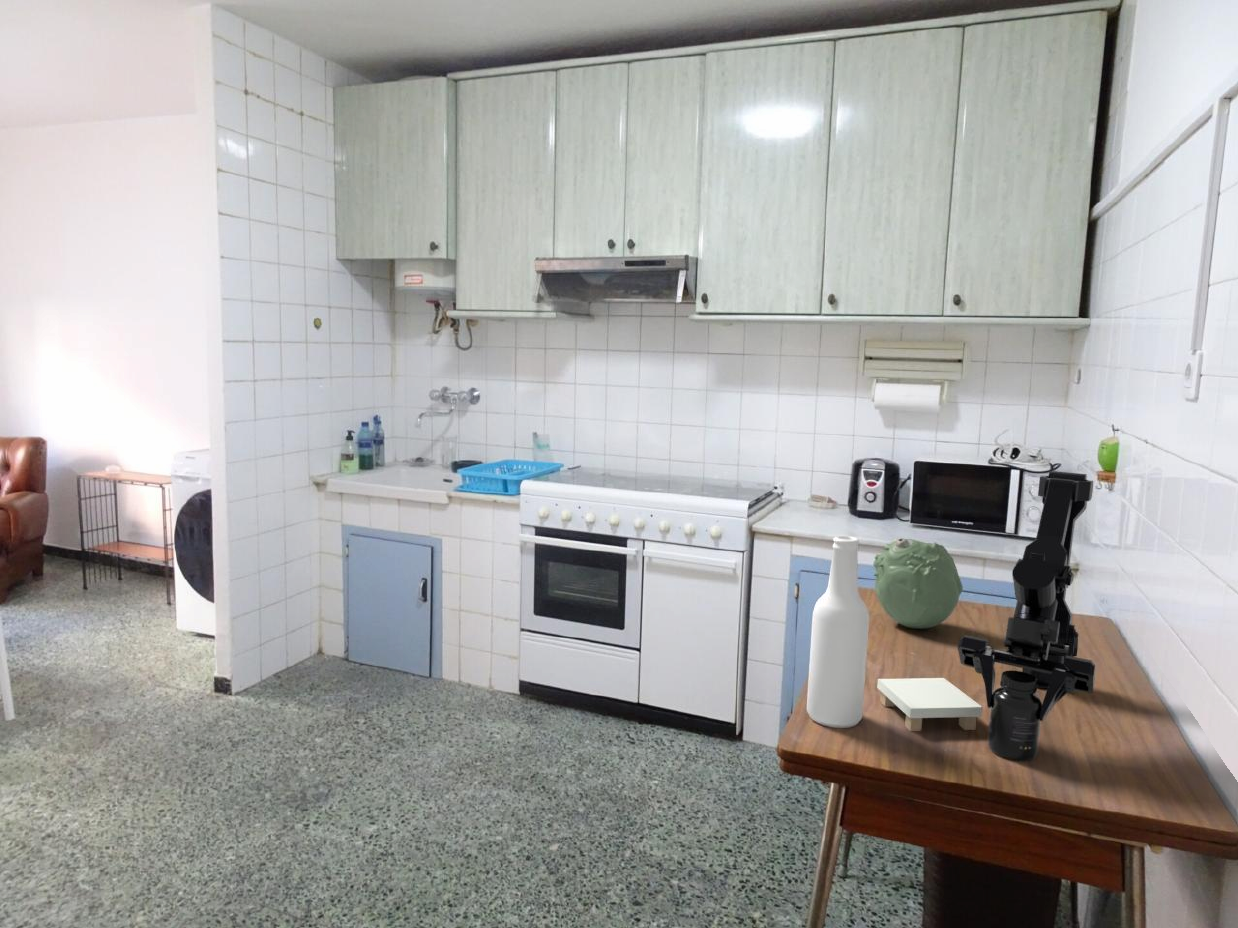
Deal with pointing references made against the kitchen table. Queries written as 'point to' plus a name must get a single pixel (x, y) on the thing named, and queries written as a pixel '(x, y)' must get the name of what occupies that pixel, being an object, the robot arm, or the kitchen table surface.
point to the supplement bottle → (1015, 717)
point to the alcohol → (839, 643)
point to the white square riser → (928, 701)
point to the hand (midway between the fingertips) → (1014, 712)
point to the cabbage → (917, 583)
